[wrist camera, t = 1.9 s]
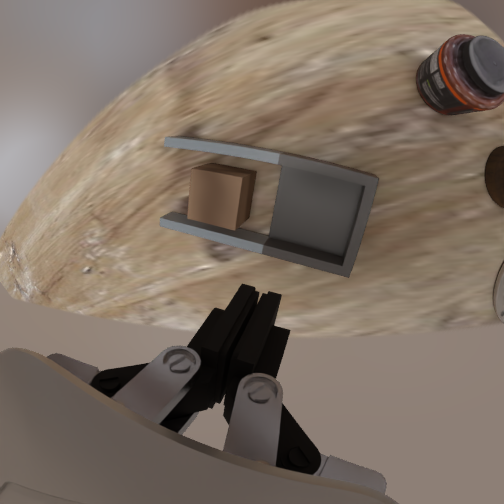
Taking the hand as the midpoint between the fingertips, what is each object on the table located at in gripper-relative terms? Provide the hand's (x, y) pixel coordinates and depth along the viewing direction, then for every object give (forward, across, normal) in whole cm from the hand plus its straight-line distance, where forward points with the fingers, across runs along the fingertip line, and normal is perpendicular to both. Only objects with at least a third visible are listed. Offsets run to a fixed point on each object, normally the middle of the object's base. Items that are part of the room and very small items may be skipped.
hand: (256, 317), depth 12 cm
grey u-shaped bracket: (+18, +5, 0) cm, 19 cm away
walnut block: (+18, +8, 0) cm, 20 cm away
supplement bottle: (+18, -11, -16) cm, 27 cm away
